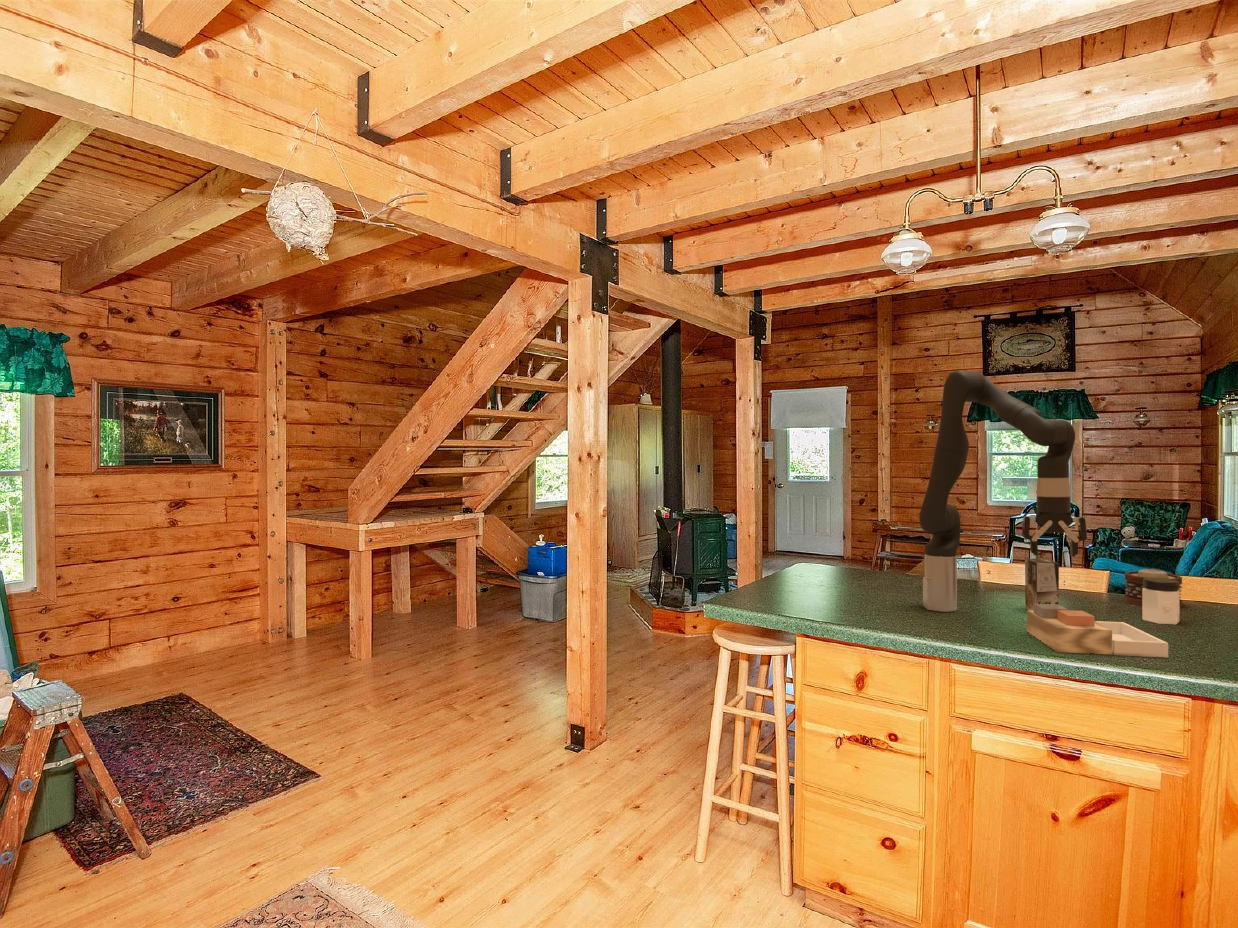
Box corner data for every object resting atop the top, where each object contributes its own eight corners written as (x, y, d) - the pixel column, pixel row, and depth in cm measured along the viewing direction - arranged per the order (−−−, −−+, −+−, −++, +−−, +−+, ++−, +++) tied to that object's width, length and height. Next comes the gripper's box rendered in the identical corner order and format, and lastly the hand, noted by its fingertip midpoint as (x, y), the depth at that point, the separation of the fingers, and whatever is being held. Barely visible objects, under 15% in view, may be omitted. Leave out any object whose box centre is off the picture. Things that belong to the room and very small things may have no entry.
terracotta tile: (1067, 625, 167) (1067, 615, 167) (1057, 619, 173) (1057, 609, 173) (1094, 626, 166) (1094, 616, 166) (1083, 620, 172) (1083, 610, 172)
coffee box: (1059, 616, 201) (1059, 562, 200) (1036, 615, 202) (1036, 562, 202) (1047, 609, 210) (1046, 558, 209) (1024, 608, 211) (1024, 557, 211)
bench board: (1057, 651, 165) (1057, 627, 165) (1027, 631, 184) (1027, 610, 184) (1112, 654, 163) (1112, 629, 163) (1075, 633, 181) (1075, 611, 181)
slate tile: (1042, 618, 175) (1042, 608, 175) (1033, 612, 181) (1033, 603, 181) (1068, 619, 174) (1068, 609, 174) (1058, 613, 180) (1058, 604, 180)
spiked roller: (1113, 566, 224) (1164, 567, 221) (1113, 598, 224) (1164, 599, 221) (1139, 574, 209) (1194, 575, 207) (1139, 608, 209) (1194, 610, 207)
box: (1114, 655, 162) (1114, 640, 162) (1076, 633, 182) (1076, 620, 182) (1168, 657, 160) (1168, 643, 160) (1123, 635, 180) (1123, 622, 179)
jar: (1148, 623, 191) (1148, 581, 191) (1136, 616, 199) (1136, 576, 199) (1186, 625, 189) (1186, 583, 188) (1172, 618, 196) (1172, 578, 196)
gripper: (1025, 495, 176) (1026, 556, 176) (1089, 495, 171) (1090, 558, 171) (1019, 494, 183) (1020, 552, 183) (1080, 494, 178) (1081, 554, 178)
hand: (1054, 555), depth 177 cm, fingers open, 8 cm apart
